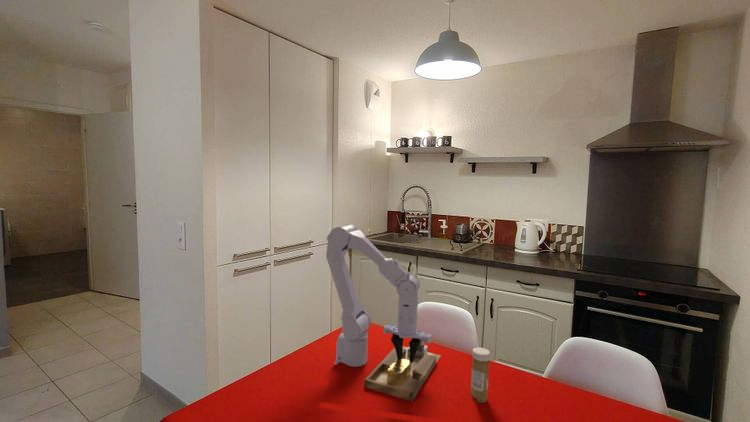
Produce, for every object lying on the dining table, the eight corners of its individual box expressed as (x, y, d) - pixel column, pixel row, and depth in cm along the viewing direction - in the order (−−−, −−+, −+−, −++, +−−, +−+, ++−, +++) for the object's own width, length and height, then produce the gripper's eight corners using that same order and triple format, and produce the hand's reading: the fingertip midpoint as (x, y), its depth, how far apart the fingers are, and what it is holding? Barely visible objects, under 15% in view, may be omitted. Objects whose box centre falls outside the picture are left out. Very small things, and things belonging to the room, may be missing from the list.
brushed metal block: (407, 356, 117) (408, 336, 116) (411, 349, 121) (412, 331, 121) (423, 359, 115) (424, 340, 114) (427, 353, 119) (428, 334, 119)
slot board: (364, 389, 99) (364, 379, 98) (401, 348, 124) (401, 340, 124) (412, 404, 93) (412, 393, 92) (440, 358, 118) (441, 349, 118)
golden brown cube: (386, 383, 100) (387, 370, 100) (392, 376, 104) (392, 363, 104) (399, 387, 99) (400, 373, 98) (405, 380, 102) (405, 367, 102)
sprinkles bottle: (490, 400, 96) (493, 352, 95) (479, 405, 93) (482, 356, 92) (477, 391, 100) (480, 345, 99) (466, 396, 97) (468, 349, 96)
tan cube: (393, 377, 104) (393, 363, 103) (398, 370, 107) (398, 358, 107) (405, 380, 102) (406, 367, 102) (410, 374, 106) (411, 361, 105)
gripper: (379, 316, 106) (378, 360, 107) (426, 326, 100) (424, 372, 101) (389, 309, 112) (387, 350, 113) (434, 317, 106) (431, 361, 107)
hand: (405, 360), depth 107 cm, fingers closed on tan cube, 3 cm apart
